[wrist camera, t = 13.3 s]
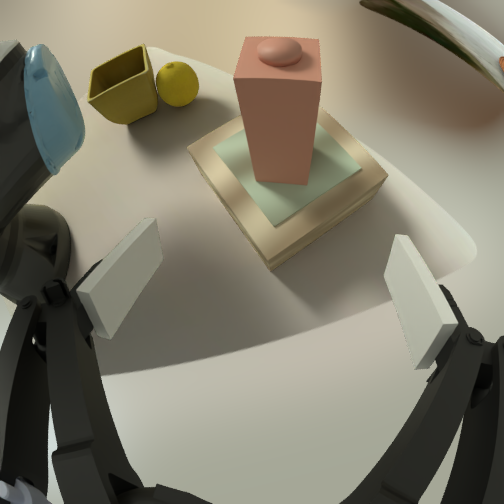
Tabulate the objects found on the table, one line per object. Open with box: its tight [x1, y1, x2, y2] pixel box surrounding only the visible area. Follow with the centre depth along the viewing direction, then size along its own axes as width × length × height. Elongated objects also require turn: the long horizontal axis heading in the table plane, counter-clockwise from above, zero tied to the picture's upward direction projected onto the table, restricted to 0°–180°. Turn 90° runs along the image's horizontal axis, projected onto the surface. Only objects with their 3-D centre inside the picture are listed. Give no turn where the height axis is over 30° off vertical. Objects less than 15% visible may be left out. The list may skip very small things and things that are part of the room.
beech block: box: [187, 106, 388, 272], centre depth 27 cm, size 14×14×6 cm
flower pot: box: [87, 44, 158, 125], centre depth 31 cm, size 9×9×9 cm
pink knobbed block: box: [233, 37, 322, 185], centre depth 18 cm, size 4×4×13 cm
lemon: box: [156, 62, 199, 107], centre depth 30 cm, size 6×6×8 cm
